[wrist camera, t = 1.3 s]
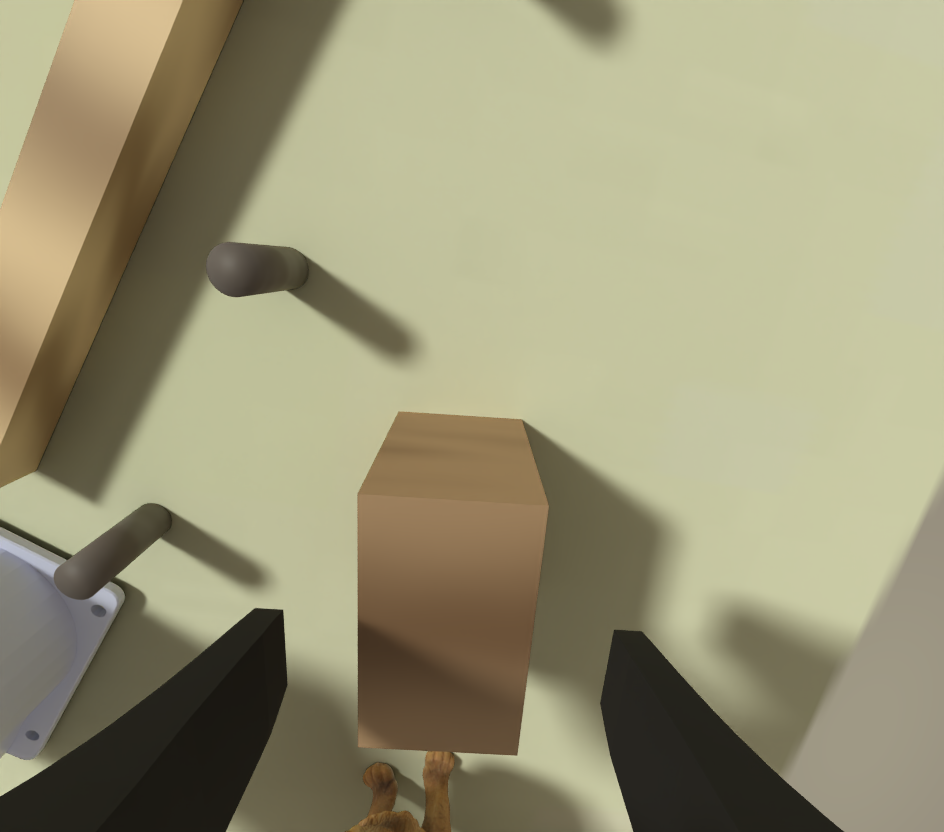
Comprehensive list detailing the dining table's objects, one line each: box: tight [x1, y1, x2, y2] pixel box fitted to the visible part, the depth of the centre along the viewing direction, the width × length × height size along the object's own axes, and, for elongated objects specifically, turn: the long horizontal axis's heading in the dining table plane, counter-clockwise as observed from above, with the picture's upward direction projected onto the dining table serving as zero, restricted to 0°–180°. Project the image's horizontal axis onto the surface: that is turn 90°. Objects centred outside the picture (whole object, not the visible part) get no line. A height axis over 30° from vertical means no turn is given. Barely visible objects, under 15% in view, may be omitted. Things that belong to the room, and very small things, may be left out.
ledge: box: [0, 0, 308, 600], centre depth 12 cm, size 21×7×4 cm, turn 146°
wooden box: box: [358, 412, 549, 755], centre depth 14 cm, size 7×4×6 cm, turn 176°
